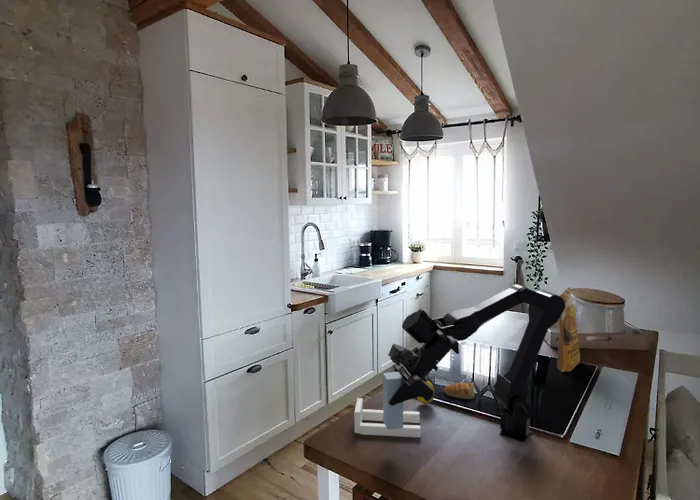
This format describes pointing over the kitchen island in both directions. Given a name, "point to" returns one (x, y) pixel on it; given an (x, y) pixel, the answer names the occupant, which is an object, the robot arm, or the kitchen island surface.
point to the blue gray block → (390, 387)
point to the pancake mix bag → (568, 336)
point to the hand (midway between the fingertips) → (387, 400)
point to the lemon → (423, 398)
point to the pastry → (460, 390)
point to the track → (381, 429)
